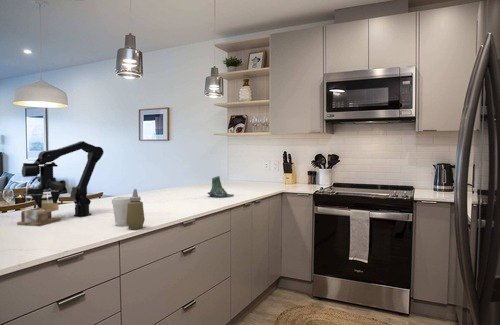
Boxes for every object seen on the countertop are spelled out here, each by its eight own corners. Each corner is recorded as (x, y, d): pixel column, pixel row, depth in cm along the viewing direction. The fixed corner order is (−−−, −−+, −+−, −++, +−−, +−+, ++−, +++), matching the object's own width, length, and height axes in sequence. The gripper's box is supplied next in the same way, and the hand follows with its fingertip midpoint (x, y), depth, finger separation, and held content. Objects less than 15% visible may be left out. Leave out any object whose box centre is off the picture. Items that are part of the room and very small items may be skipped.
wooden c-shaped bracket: (58, 209, 171) (58, 203, 171) (40, 214, 160) (40, 206, 160) (40, 209, 173) (40, 202, 173) (21, 213, 162) (21, 205, 162)
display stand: (61, 220, 171) (60, 206, 171) (39, 226, 159) (39, 211, 158) (39, 219, 174) (39, 205, 174) (17, 224, 161) (16, 210, 161)
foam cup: (112, 223, 164) (111, 197, 163) (132, 221, 168) (131, 196, 167) (112, 227, 155) (112, 199, 155) (133, 225, 159) (133, 198, 158)
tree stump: (238, 197, 253) (233, 174, 250) (213, 205, 246) (208, 182, 243) (229, 193, 270) (224, 172, 267) (206, 200, 263) (201, 179, 259)
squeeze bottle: (129, 226, 158) (128, 188, 157) (146, 226, 159) (146, 188, 158) (124, 230, 150) (123, 190, 149) (142, 230, 151) (142, 190, 150)
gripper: (45, 177, 159) (45, 210, 160) (74, 174, 177) (74, 203, 178) (25, 177, 162) (26, 209, 163) (56, 174, 180) (57, 203, 181)
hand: (47, 206), depth 171 cm, fingers open, 9 cm apart
